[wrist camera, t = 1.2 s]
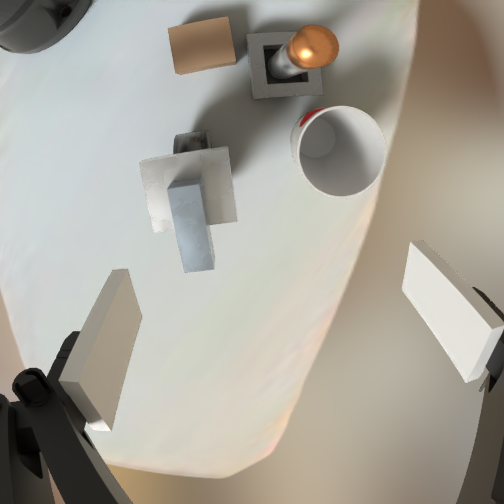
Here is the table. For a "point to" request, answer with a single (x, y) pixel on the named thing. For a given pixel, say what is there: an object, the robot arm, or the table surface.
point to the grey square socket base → (258, 71)
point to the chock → (202, 45)
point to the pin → (304, 52)
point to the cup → (338, 150)
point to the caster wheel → (190, 195)
